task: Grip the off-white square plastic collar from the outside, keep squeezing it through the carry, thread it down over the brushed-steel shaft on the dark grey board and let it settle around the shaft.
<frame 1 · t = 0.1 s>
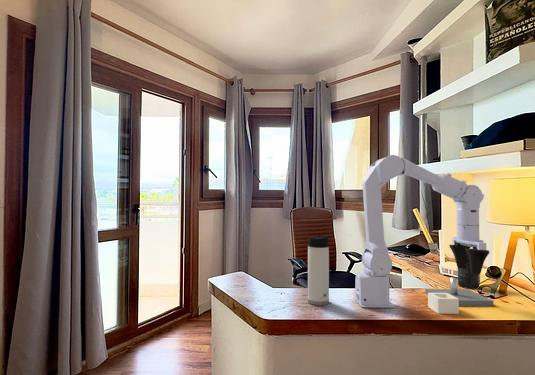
hand: (468, 270, 94), 10 cm above the worktop, tool pointing down, fingers open, 7 cm apart
collar: (442, 310, 89), on the worktop
shaft board: (457, 299, 99), on the worktop
supplement bottle: (468, 287, 114), on the worktop
travel mug: (318, 302, 95), on the worktop
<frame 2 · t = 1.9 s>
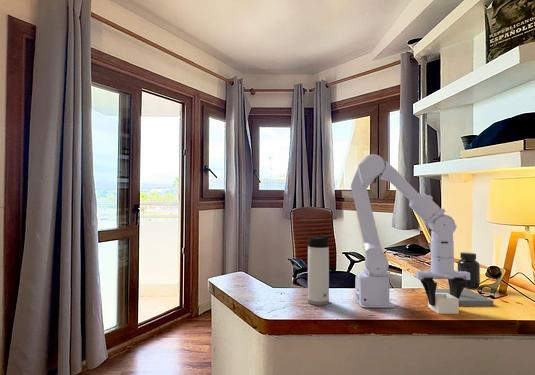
hand: (442, 305, 89), 1 cm above the worktop, tool pointing down, fingers closed on collar, 6 cm apart
collar: (442, 310, 89), on the worktop, touching gripper
everything else where it was.
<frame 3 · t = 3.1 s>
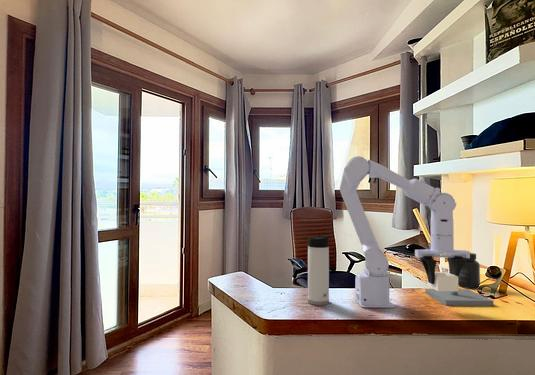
hand: (442, 283, 90), 7 cm above the worktop, tool pointing down, fingers closed on collar, 6 cm apart
collar: (442, 288, 89), point 6 cm above the worktop, touching gripper
everything else where it was.
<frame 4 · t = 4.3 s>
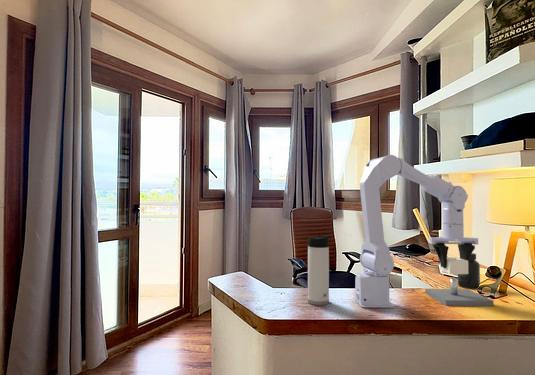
hand: (453, 267, 99), 10 cm above the worktop, tool pointing down, fingers closed on collar, 6 cm apart
collar: (453, 271, 99), point 9 cm above the worktop, touching gripper
everything else where it was.
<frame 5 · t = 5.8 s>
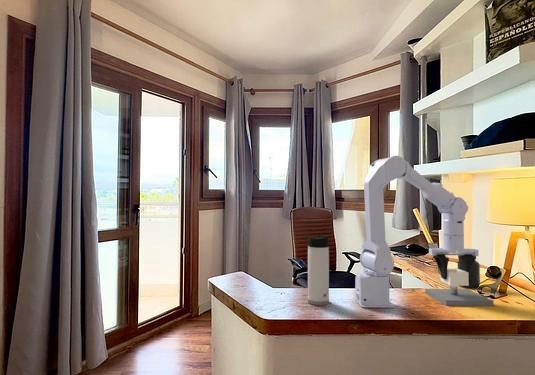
hand: (453, 278, 99), 6 cm above the worktop, tool pointing down, fingers closed on collar, 6 cm apart
collar: (454, 283, 99), point 5 cm above the worktop, touching gripper
everything else where it was.
when the fingers open (4 cm above the worktop, at t = 6.8 s): collar drops 1 cm, resting on shaft board.
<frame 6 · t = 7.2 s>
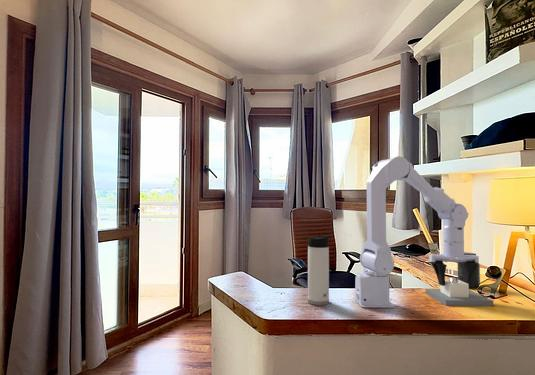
hand: (453, 285, 99), 4 cm above the worktop, tool pointing down, fingers open, 7 cm apart
collar: (454, 294, 99), point 1 cm above the worktop, touching shaft board
everything else where it was.
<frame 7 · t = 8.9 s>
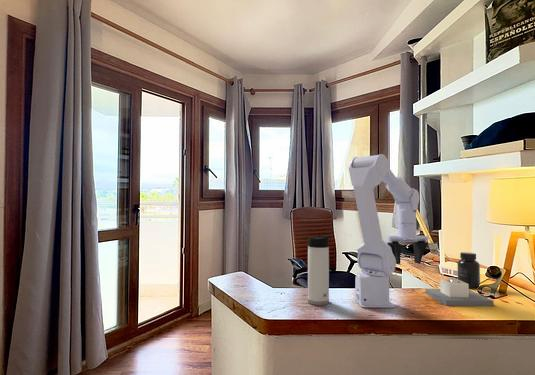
hand: (407, 263, 108), 9 cm above the worktop, tool pointing down, fingers open, 7 cm apart
nothing on the worktop moved.
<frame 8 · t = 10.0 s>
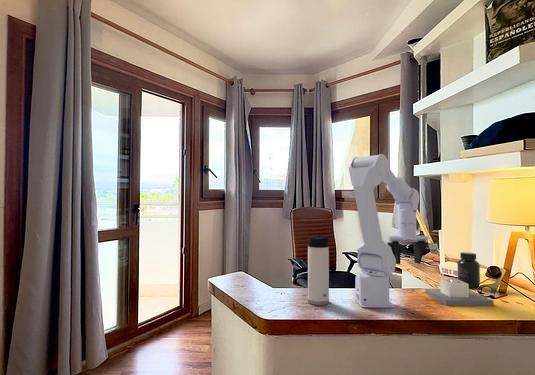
hand: (407, 263, 108), 9 cm above the worktop, tool pointing down, fingers open, 7 cm apart
nothing on the worktop moved.
at the end: collar 0.1 cm from the target spot on the shaft board, point 1.5 cm above the shaft board's base; collar tilted 0°; the gripper is holding nothing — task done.
